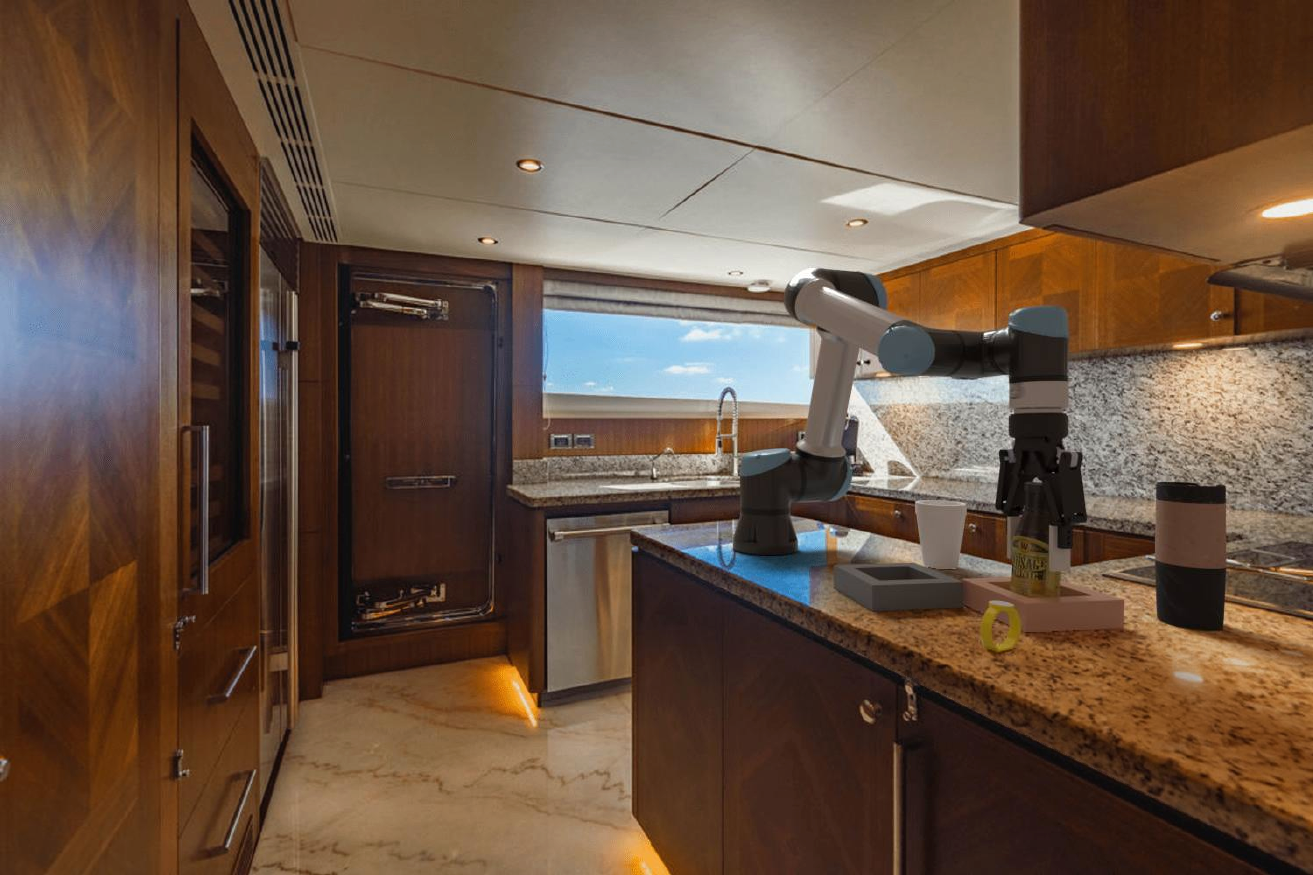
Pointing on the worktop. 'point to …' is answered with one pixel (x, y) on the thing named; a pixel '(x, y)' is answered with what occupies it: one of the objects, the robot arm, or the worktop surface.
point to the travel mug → (1190, 555)
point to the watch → (989, 620)
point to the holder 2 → (1048, 606)
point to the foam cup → (940, 532)
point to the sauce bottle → (1034, 548)
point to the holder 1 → (898, 586)
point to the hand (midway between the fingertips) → (1037, 564)
